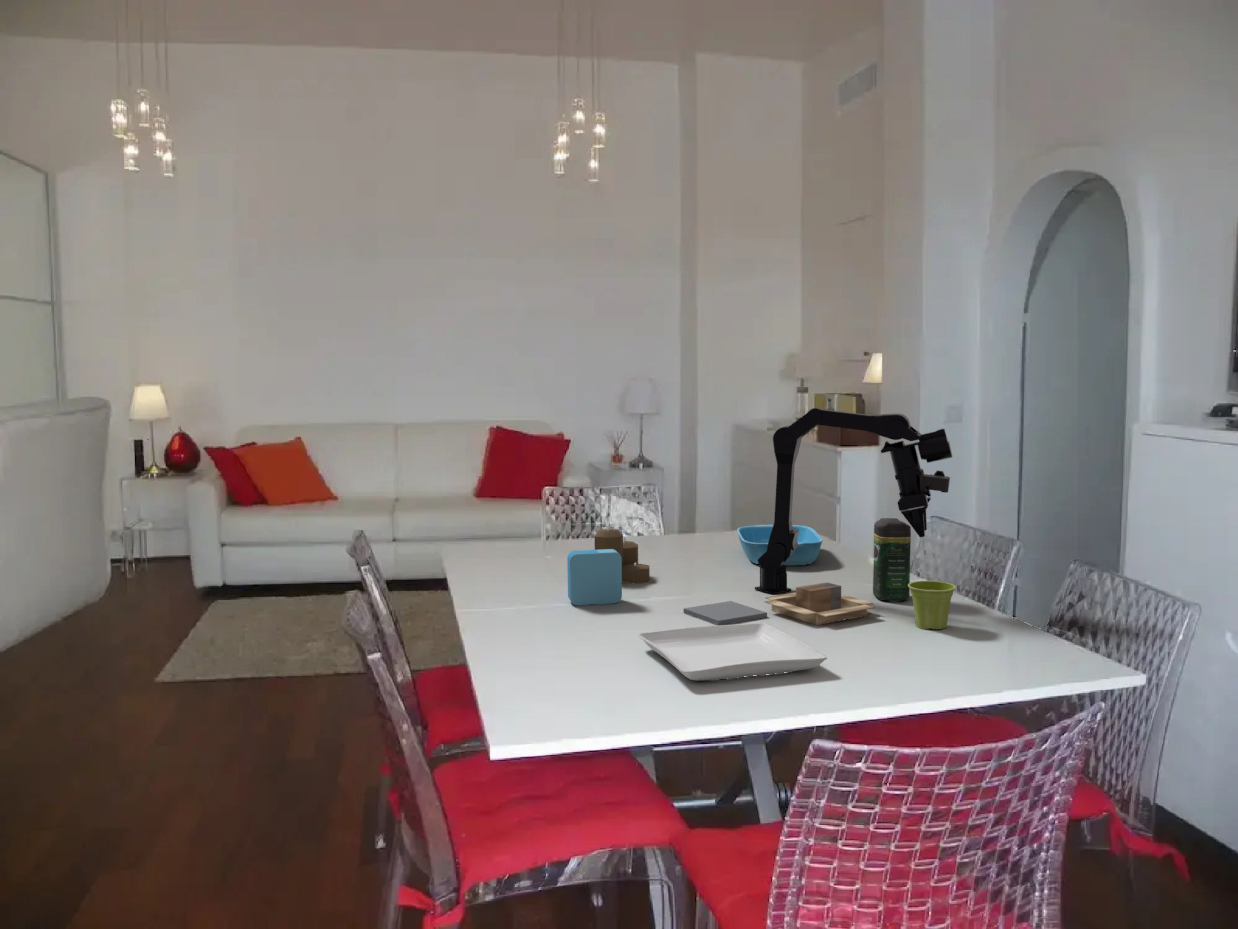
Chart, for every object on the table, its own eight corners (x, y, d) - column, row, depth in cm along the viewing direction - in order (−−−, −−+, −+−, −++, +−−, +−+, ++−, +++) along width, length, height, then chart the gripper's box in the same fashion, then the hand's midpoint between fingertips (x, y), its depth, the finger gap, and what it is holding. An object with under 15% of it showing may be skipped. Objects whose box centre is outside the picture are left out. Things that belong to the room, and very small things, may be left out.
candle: (605, 587, 253) (604, 527, 252) (585, 576, 266) (584, 519, 264) (655, 581, 259) (654, 523, 257) (633, 571, 271) (632, 515, 270)
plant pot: (930, 634, 206) (931, 592, 205) (897, 624, 214) (898, 583, 213) (964, 628, 210) (965, 587, 209) (931, 618, 219) (932, 578, 218)
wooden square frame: (755, 609, 228) (755, 598, 228) (820, 599, 238) (820, 588, 237) (816, 629, 211) (816, 617, 211) (883, 617, 220) (883, 605, 220)
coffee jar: (913, 602, 233) (914, 522, 231) (878, 602, 233) (879, 522, 232) (903, 593, 243) (904, 515, 241) (869, 593, 243) (870, 516, 241)
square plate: (829, 676, 181) (829, 655, 180) (684, 692, 173) (683, 670, 172) (765, 637, 206) (765, 619, 206) (635, 650, 199) (635, 630, 198)
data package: (618, 599, 240) (618, 548, 239) (622, 603, 236) (621, 552, 235) (567, 601, 238) (567, 550, 237) (570, 606, 233) (569, 554, 232)
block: (795, 614, 224) (796, 587, 223) (826, 608, 228) (827, 582, 228) (809, 618, 220) (809, 591, 219) (841, 612, 225) (841, 586, 224)
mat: (683, 612, 226) (683, 608, 226) (730, 605, 233) (730, 600, 232) (718, 625, 215) (718, 620, 215) (767, 617, 221) (767, 612, 221)
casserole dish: (734, 545, 309) (734, 522, 308) (808, 545, 308) (808, 522, 307) (744, 570, 272) (744, 544, 271) (828, 570, 271) (829, 544, 270)
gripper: (941, 463, 222) (958, 533, 222) (944, 455, 240) (960, 520, 240) (890, 474, 226) (907, 543, 226) (896, 466, 244) (912, 530, 244)
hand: (923, 533), depth 234 cm, fingers open, 9 cm apart
